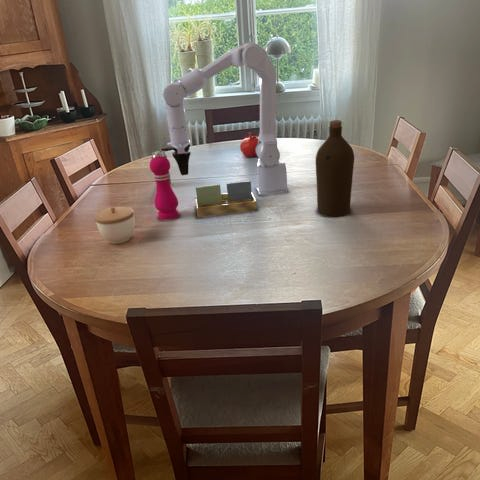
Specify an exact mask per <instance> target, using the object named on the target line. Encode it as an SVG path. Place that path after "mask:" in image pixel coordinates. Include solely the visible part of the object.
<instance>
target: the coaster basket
mask: <svg viewBox="0 0 480 480" xmlns="http://www.w3.org/2000/svg"><path fill="white" fill-rule="evenodd" d="M221 198H222V203H215V204H207V205H199V206H198V201H197V196H194V201H195V210H196V216H197V217H196V218H204V217H213V216H220V215H228V214H237V213H244V212H245V213H246V212H252V211H253V212H254V211H257V210H258V206H257V199H256V197H255V195H254V193H253V192H252V199H248V200H240V201H232V202H228V194H227V192H226V193H221Z"/></svg>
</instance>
